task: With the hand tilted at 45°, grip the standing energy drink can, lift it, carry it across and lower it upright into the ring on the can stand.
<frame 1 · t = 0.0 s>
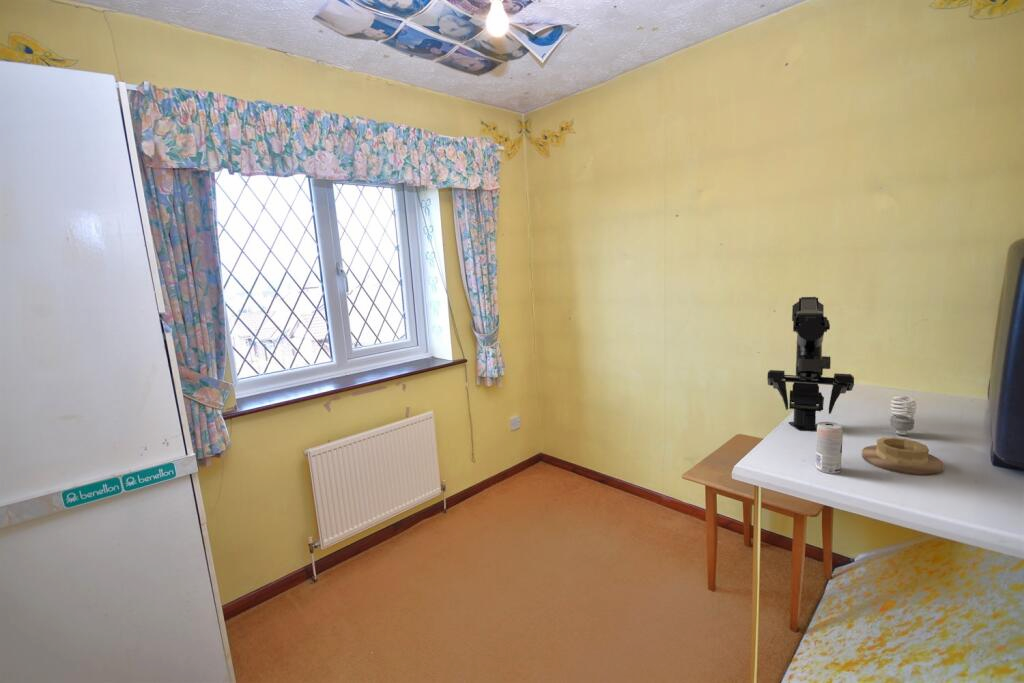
hand: (808, 411, 114), 15 cm above the table, tool tilted 35°, fingers open, 9 cm apart
light bulb: (901, 435, 131), on the table
can stand: (900, 461, 115), on the table
energy drink: (827, 470, 114), on the table
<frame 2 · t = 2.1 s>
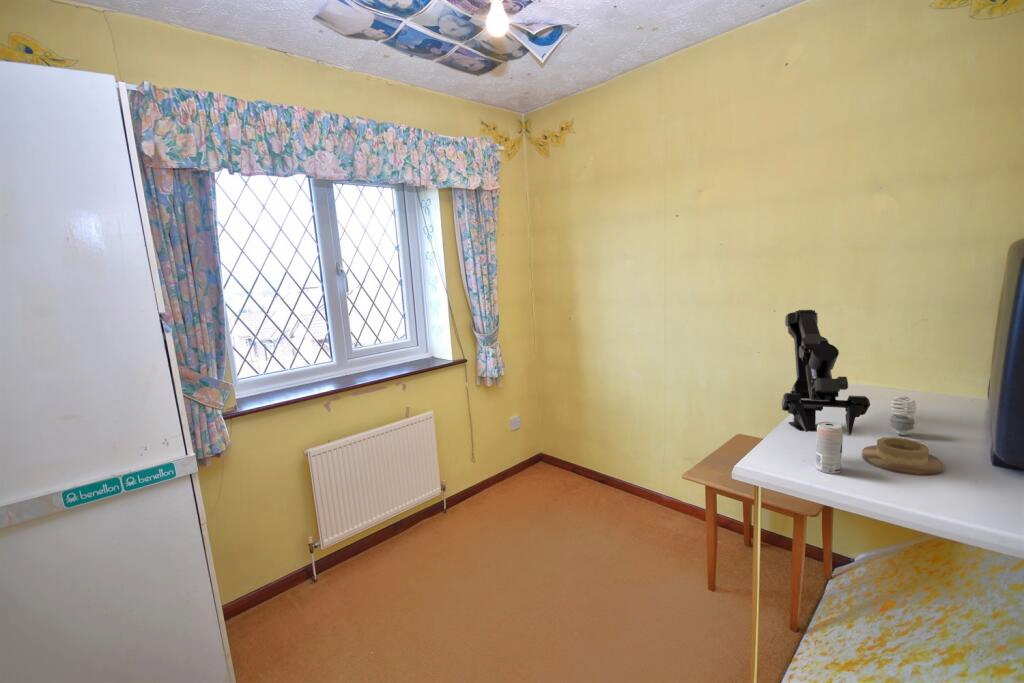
hand: (828, 432, 113), 9 cm above the table, tool tilted 45°, fingers open, 9 cm apart
nothing on the table moved.
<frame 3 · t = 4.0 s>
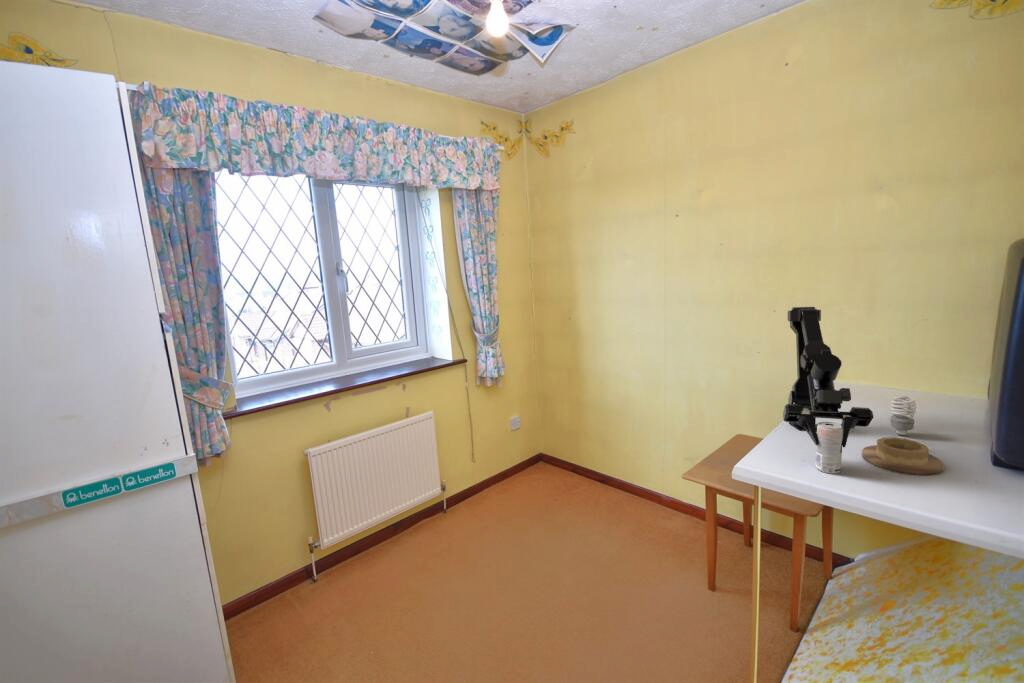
hand: (830, 445, 111), 7 cm above the table, tool tilted 45°, fingers closed on energy drink, 5 cm apart
energy drink: (827, 470, 114), on the table, touching gripper
everything else where it was.
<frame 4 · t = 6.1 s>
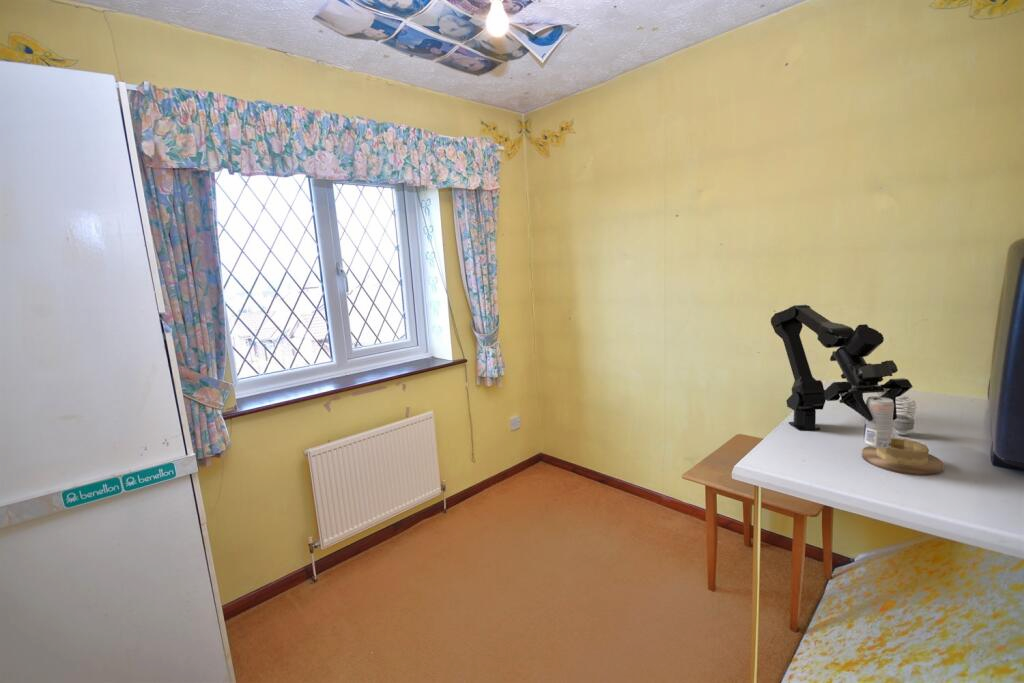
hand: (883, 419, 110), 13 cm above the table, tool tilted 45°, fingers closed on energy drink, 5 cm apart
energy drink: (876, 445, 112), point 6 cm above the table, touching gripper
everything else where it was.
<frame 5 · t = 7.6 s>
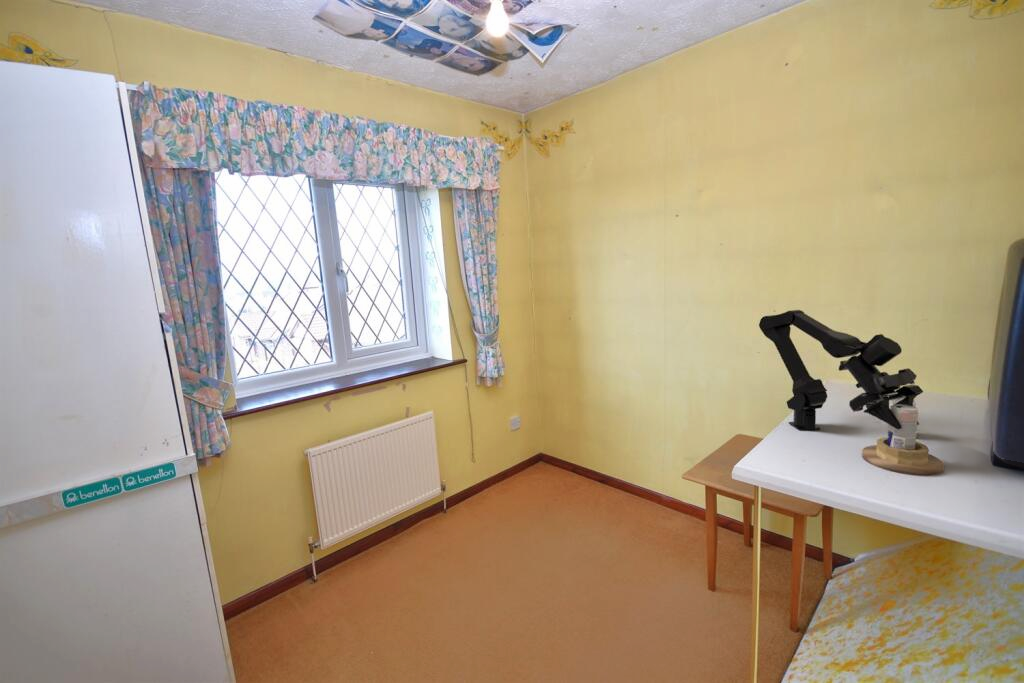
hand: (908, 426, 112), 10 cm above the table, tool tilted 45°, fingers closed on energy drink, 5 cm apart
energy drink: (900, 452, 115), point 3 cm above the table, touching gripper
everything else where it was.
when the fingers open (9 cm above the table, at t = 8.6 s): energy drink stays where it is, resting on can stand.
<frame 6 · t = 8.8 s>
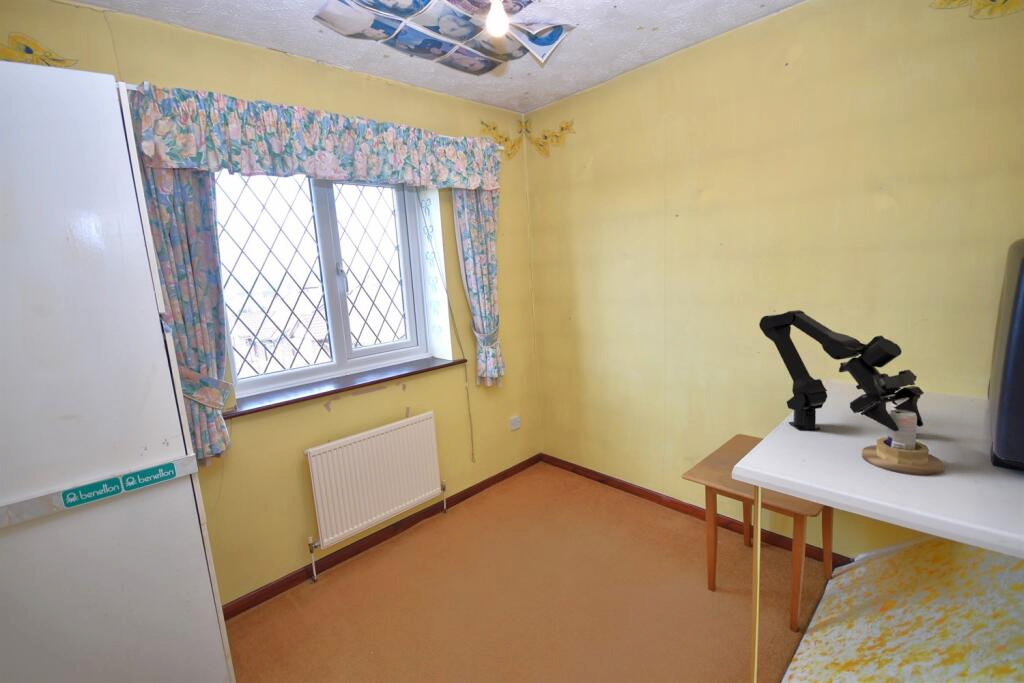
hand: (909, 428, 112), 10 cm above the table, tool tilted 45°, fingers open, 8 cm apart
energy drink: (900, 457, 115), point 1 cm above the table, touching can stand
everything else where it was.
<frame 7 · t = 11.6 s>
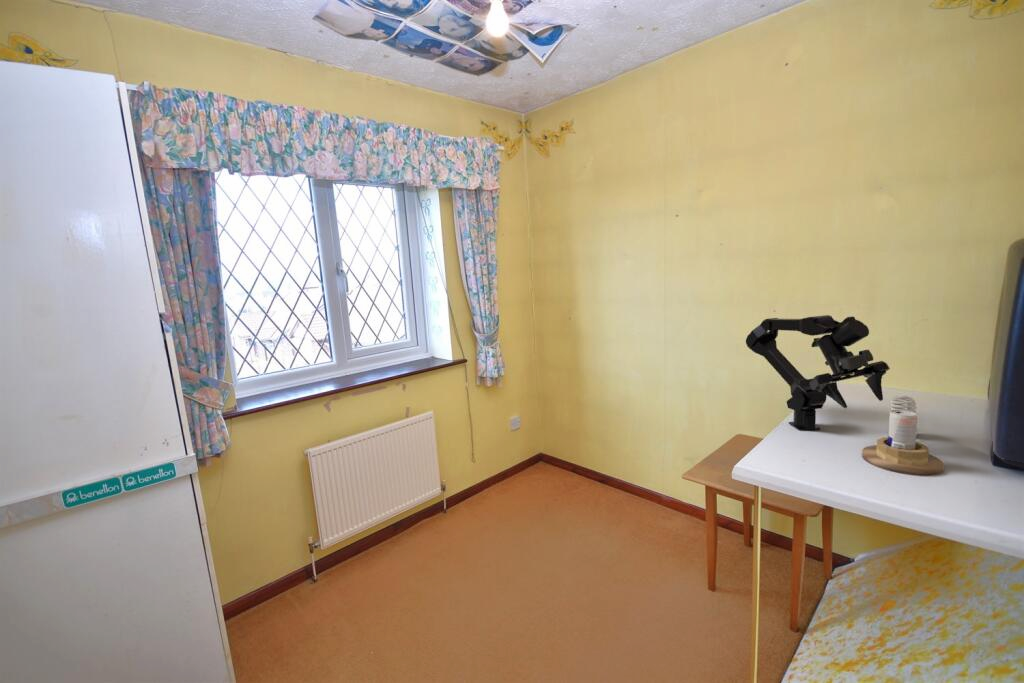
hand: (863, 404, 122), 13 cm above the table, tool tilted 35°, fingers open, 9 cm apart
nothing on the table moved.
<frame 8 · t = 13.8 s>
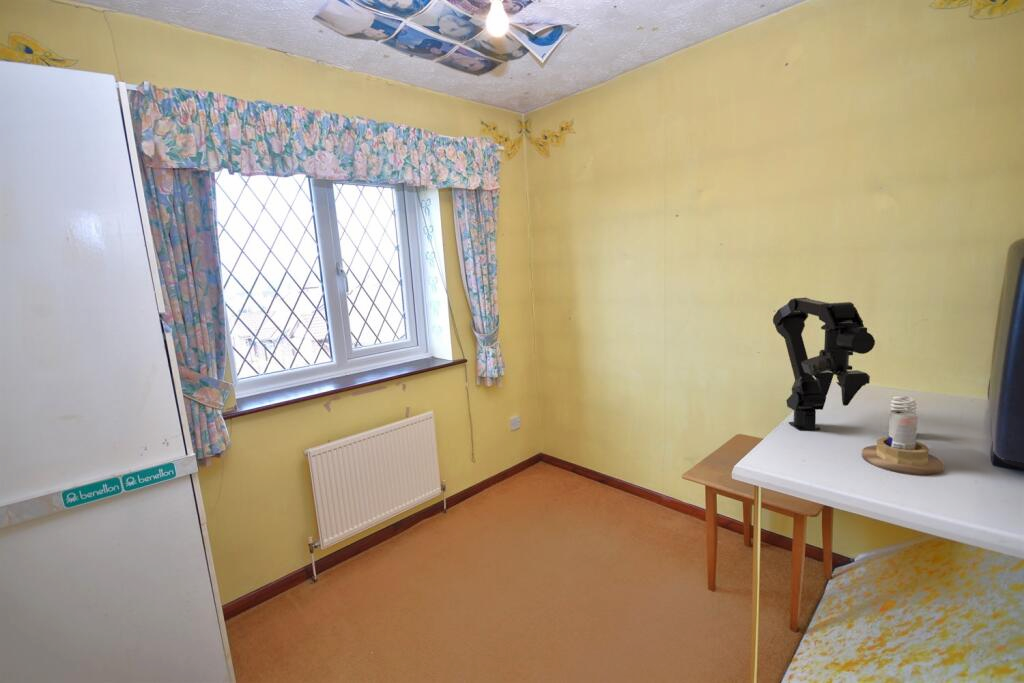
hand: (834, 400, 126), 13 cm above the table, tool pointing down, fingers open, 9 cm apart
nothing on the table moved.
at the end: energy drink 0.2 cm off-centre on the can stand, point 1.0 cm above the can stand's base; energy drink tilted 0°; the gripper is holding nothing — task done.
